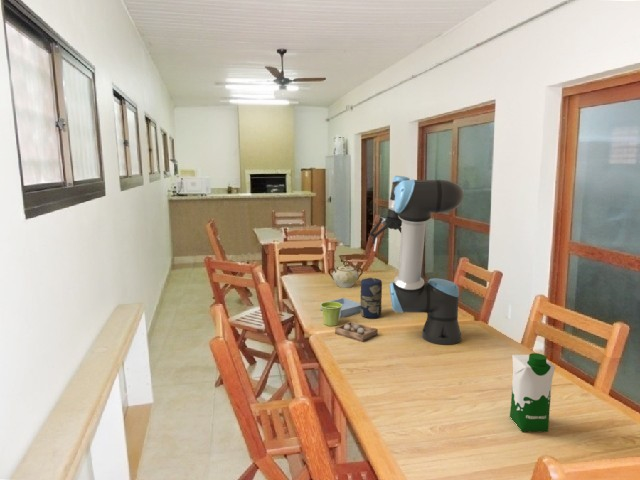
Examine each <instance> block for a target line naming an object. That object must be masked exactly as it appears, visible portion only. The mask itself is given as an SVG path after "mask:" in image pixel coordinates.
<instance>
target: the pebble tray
mask: <svg viewBox="0 0 640 480" xmlns="http://www.w3.org/2000/svg"><path fill="white" fill-rule="evenodd" d="M378 333H379V332H378V329H377V328H375V327H371V326H367V325H363V324H360V323H356V322H353V321H348V322H346V323H343V324H341V325H338V326H336V327H335V331H334V334H336V335H339V336H340V337H341V336H343V337H345V338H349V339H352V340H355V341H357V342H362V343H364V342H366V341H368V340H370V339H372V338H375V337H377V336H378Z"/></svg>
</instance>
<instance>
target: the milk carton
mask: <svg viewBox="0 0 640 480" xmlns="http://www.w3.org/2000/svg"><path fill="white" fill-rule="evenodd" d="M511 355H512V357H511V358H512V383H511V385H512V386H511V396H510V397H511V400H510V409H509V410H510V411H509V418H510V417H511V418H512V419H511V418H510V419H511V420H513V421H514V422H515V423H516V424H517V426H518V427H519V428H520V429H521V430H520V429H519V428H518V427H517V426H516V427H517V428H518V429H519V430H520V432H521V431H545V432H549V423H550V409H551V397H552V384H553V377H554V373H555V369H556V366H555V365H554V364H553V363H552V362H550V361H549V360H548V359H547V356H546V355H544V354H542V353H536V352H533V353H530V354H511ZM513 421H512V422H513ZM514 422H513V423H514ZM515 423H514V424H515ZM516 424H515V425H516Z"/></svg>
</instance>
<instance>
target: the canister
mask: <svg viewBox="0 0 640 480" xmlns="http://www.w3.org/2000/svg"><path fill="white" fill-rule="evenodd" d="M382 287H383V281H382V280H381V279H379V278H373V277H368V278H367V277H366V278H363V279H361V280H360V302H359V303H360V304H361V313H360V315H361V316H362V317H364V318H368V319H369V318H370V319H374V318H379V317H380V316H381V315H382V298H383V296H382V295H383V291H382V290H383V288H382Z"/></svg>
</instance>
